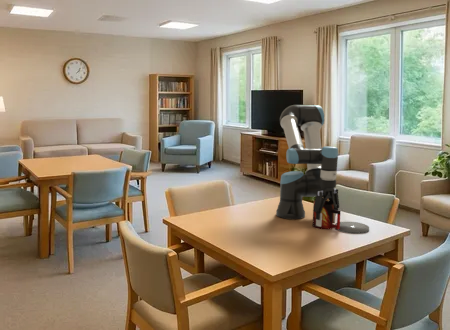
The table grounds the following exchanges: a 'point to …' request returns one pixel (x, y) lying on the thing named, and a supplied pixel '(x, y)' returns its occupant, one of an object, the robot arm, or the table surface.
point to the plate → (353, 227)
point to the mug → (327, 217)
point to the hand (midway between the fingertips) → (325, 224)
